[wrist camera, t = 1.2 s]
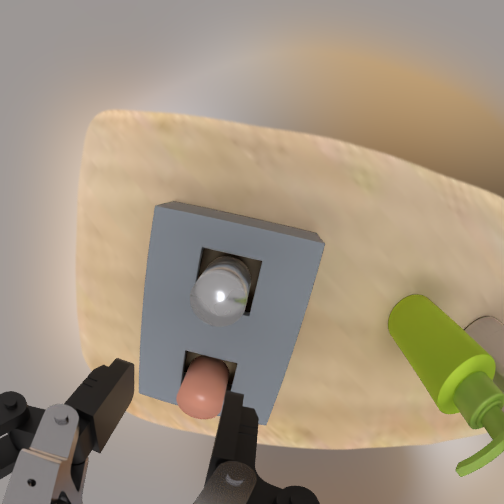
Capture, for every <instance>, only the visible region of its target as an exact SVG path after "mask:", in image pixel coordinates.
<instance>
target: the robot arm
mask: <svg viewBox="0 0 504 504" xmlns="http://www.w3.org/2000/svg"><path fill="white" fill-rule="evenodd" d="M464 331H465V332H466V333H467V334H468V335H469V336H471V337H472V338H473V339H474V340H475V341H476V342H477V343H478V344H479V345H480V346H481V347H482V348H483V349H484V350H485V351H486V352H487V353H488V354H490V355H491V356H492V357H493V359H494V361H495V365H496V370H495V375H494V378H493V380H492V381H493V382H494V383H495V384H496V386H497V387H498V388H499V389H500V390H501V391H502V392H503V394H504V325H503V324H502V323H501V322H500V321H498V320H497V319H495V318H494V317H490V316H488V317H483V318H480V319H478V320H476V321H475V322H473V323H472V324H471V325H469V326H468V327H467V328H466V329H465V330H464ZM133 394H134V364H133V363H130V362H127V361H124V360H122V359H119V358H116V359H115V360H114V361H113V363H112V364H111V365H110V366H109V367H108V366H105V365H102V366H100V367H98V368H96V369H94V370H93V371H92V372H91V373H90V374H89V375H88V377H87V378H86V379H85V380H84V381H83V383H82V384H81V385H80V386H79V387H78V388H77V389H76V391H75V392H74V393H73V394H72V395H71V397H70V398H69V399H68V400H67V401H66V402H65V404H55V405H52V406H50V407H48V408H47V409H46V410H44V409H40V408H36V407H32V406H28V405H27V402H26V400H25V398H24V397H23V396H22V395H21V394H19V393H17V392H12V391H10V392H4V393H2V394H0V436H2V435H4V434H6V433H8V435H6V436H4V437H2V438H0V479H1V478H3V477H5V476H7V475H8V474H10V473H11V472H12V475H11V478H10V481H9V484H8V487H7V490H6V493H5V496H4V499H3V503H2V504H83V502H82V494H83V488H84V483H85V477H86V472H87V467H88V462H89V458H88V455H89V454H90V452H91V451H92V450H94V451H96V452H98V453H101V451H102V450H103V448H104V446H105V445H106V443H107V441H108V439H109V438H110V436H111V434H112V433H113V431H114V429H115V428H116V426H117V424H118V423H119V421H120V419H121V418H122V416H123V414H124V413H125V411H126V409H127V408H128V406H129V404H130V403H131V401H132V398H133ZM243 399H244V394H241V393H236V392H232V391H226V396H225V400H224V404H223V408H222V412H221V416H220V421H219V425H218V429H217V433H216V438H215V442H214V446H213V451H212V455H211V459H210V464H209V468H208V473H207V477H206V481H205V485H204V488H203V490H202V491H201V493H200V494H199V496H198V497H197V499H196V500H195V502H194V503H193V504H320V503H319V501H318V500H317V497H316V496H315V494H314V493H313V492H312V491H310V490H309V489H307V488H305V487H301V486H289V487H286V488H284V489H281V488H278V487H276V486H273V485H271V484H269V483H267V482H265V481H263V480H262V479H261V478H260V477H259V476H258V474H257V472H256V470H255V458H256V446H257V434H258V421H259V418H258V415H257V413H256V411H255V409H254V408H249V407H244V406H243ZM502 411H503V412H504V406H503V408H502Z"/></svg>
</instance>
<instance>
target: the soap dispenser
mask: <svg viewBox="0 0 504 504" xmlns="http://www.w3.org/2000/svg"><path fill="white" fill-rule="evenodd" d="M388 329H389V332H390V334H391V336H392V337H393V339H394V340H395V342H396V343H397V345H398V346H399V348H400V349H401V351H402V352H403V354H404V355H405V357H406V358H407V360H408V361H409V363H410V364H411V366H412V367H413V369H414V370H415V372H416V373H417V375H418V376H419V378H420V380H421V381H422V383H423V384H424V386H425V387H426V389H427V391H428V392H429V394H430V395H431V397H432V399H433V400H434V402H435V403H436V405H437V407H438V408H439V410H440V411H441V412H443V413H445V414H455V413H459V412H460V413H461V414H462V416H463V417H464V419H465V420H466V422H467V423H468V425H469V426H470V427H471V428H472V429H479V428H482V427H485V429H486V430H487V432H488V433H489V435H490V436H491V438H492V439H493V441H491V443H489V444H488V445H487V446H485V447H484V448H483V449H482V450H480V451H479V452H477V453H476V454H474V455H473V456H471V457H469V458H467V459H465V460H463V461H462V462H459V463H458V465H457V467H456V472H457V473H458V474H459V476H460V477H462V476H465V475H467V474H470V473H472V472H474V471H476V470H478V469H480V468H482V467H483V466H485V465H486V464H488V463H489V462H491V461H492V460H494V459H495V458H496V457H497V456H499V455H500V454H501V453H502V452H503V451H504V412H503V411H502V408H503V406H504V394H503V392H502V391H501V390H500V389H499V388H498V387H497V386H496V384H495V383H494V382H493V381H492V380H493V378H494V375H495V370H496V365H495V361H494V359H493V357H492V356H491V355H490V354H488V353H487V352H486V351H485V350H484V349H483V348H482V347H481V346H480V345H479V344H478V343H477V342H476V341H475V340H474V339H473V338H472V337H471V336H469V335H468V334H467V333H466V332H465V331H464V330H463V329H462V328H461V327H460V326H459V325H457V324H456V323H455V322H454V321H453V320H452V319H451V318H450V317H449V316H447V315H446V314H445V313H444V312H443V311H442V310H441V309H439V308H438V307H437V306H436V305H435V304H434V303H433V302H431V301H430V300H429V299H428V298H427V297H425V296H423V295H411V296H408V297H406V298H404V299H402V300H401V301H400V302H399V303H398V304H397V305H396V306H395V307H394V308H393V310H392V312H391V314H390V317H389V320H388Z"/></svg>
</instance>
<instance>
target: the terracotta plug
mask: <svg viewBox="0 0 504 504" xmlns="http://www.w3.org/2000/svg"><path fill="white" fill-rule="evenodd" d="M228 379H229V369H228V367H227V365H226V364H225V363H224V362H223V361H222V360H221V359H217V358H213V357H209V356H205V355H201V356H198V357H196V358H195V359H193V361H192V362H191V364H190V366H189V368H188V371H187V373H186V375H185V378H184V380H183V382H182V384H181V387H180V389H179V391H178V394H177V397H176V400H177V404H178V406H179V407H180V409H181V410H182V411H183V412H185V413H186V414H188V415H189V416H191V417H194V418H198V419H210V418H213V417H215V416H217V415H218V414H219V413H220V412H221V409H222V405H223V400H224V396H225V392H226V387H227V383H228Z"/></svg>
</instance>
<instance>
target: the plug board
mask: <svg viewBox="0 0 504 504" xmlns="http://www.w3.org/2000/svg"><path fill="white" fill-rule="evenodd" d="M324 246H325V243H324V242H323V241H322V239H321V238H320V237H319V236H318V234H317V233H314V232H310V231H306V230H302V229H297V228H293V227H289V226H285V225H281V224H276V223H272V222H268V221H263V220H259V219H254V218H250V217H245V216H241V215H237V214H232V213H227V212H223V211H218V210H214V209H209V208H204V207H199V206H195V205H190V204H185V203H180V202H175V201H173V202H169V203H164V204H160V205H156V206H155V210H154V217H153V223H152V230H151V237H150V244H149V252H148V260H147V269H146V278H145V288H144V299H143V311H142V325H141V341H140V365H139V393H140V394H143V395H146V396H149V397H152V398H155V399H158V400H161V401H165V402H168V403H171V404H175V405H178V404H177V400H176V397H177V394H178V391H179V389H180V387H181V384H182V382H183V380H184V378H185V375H186V373H184V366H185V359H186V352H187V351H190V352H194V353H198V354H201V355H205V356H209V357H213V358H217V359H221V360H226V361H230V362H234V363H238V364H237V368H236V372H235V376H234V380H233V384H232V385H231V384H227V387H226V391H232V392H236V393H241V394H244V399H243V406H244V407H249V408H254V409H255V411H256V413H257V415H258V418H259V421H258V424H260V425H266V424H267V422H268V419H269V416H270V414H271V411H272V408H273V406H274V403H275V400H276V398H277V395H278V392H279V389H280V387H281V384H282V381H283V378H284V375H285V372H286V369H287V367H288V364H289V361H290V358H291V355H292V352H293V349H294V346H295V343H296V340H297V337H298V334H299V330H300V327H301V324H302V321H303V318H304V315H305V311H306V308H307V305H308V302H309V298H310V295H311V292H312V288H313V285H314V281H315V278H316V274H317V271H318V267H319V264H320V260H321V257H322V253H323V249H324ZM203 247H204V248H208V249H212V250H217V251H221V252H225V253H230V254H234V255H238V256H243V257H247V258H251V259H256V260H260V261H262V264H261V268H260V273H259V277H258V281H257V285H256V289H255V294H254V298H253V302H252V306H251V310H250V313H249V312H245V311H244V313H243V315H242V316H241V318H240V319H239V320H238V321H236V322H235V323H233V324H231V325H228V326H224V327H216V326H212V325H209V324H206V323H205V322H203V321H202V320H200V319H199V318H198V317H197V316H196V314H195V313H194V311H193V310H192V307H191V304H190V293H191V290H192V287H193V286H194V284H195V283H196V282H197V280H198V275H199V269H200V264H201V258H202V252H203ZM225 396H226V392H225ZM225 396H224V400H225ZM224 400H223V404H224ZM222 408H223V405H222ZM221 412H222V409H221ZM221 412H220V413H219V414H218V415H217V416H221Z"/></svg>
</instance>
